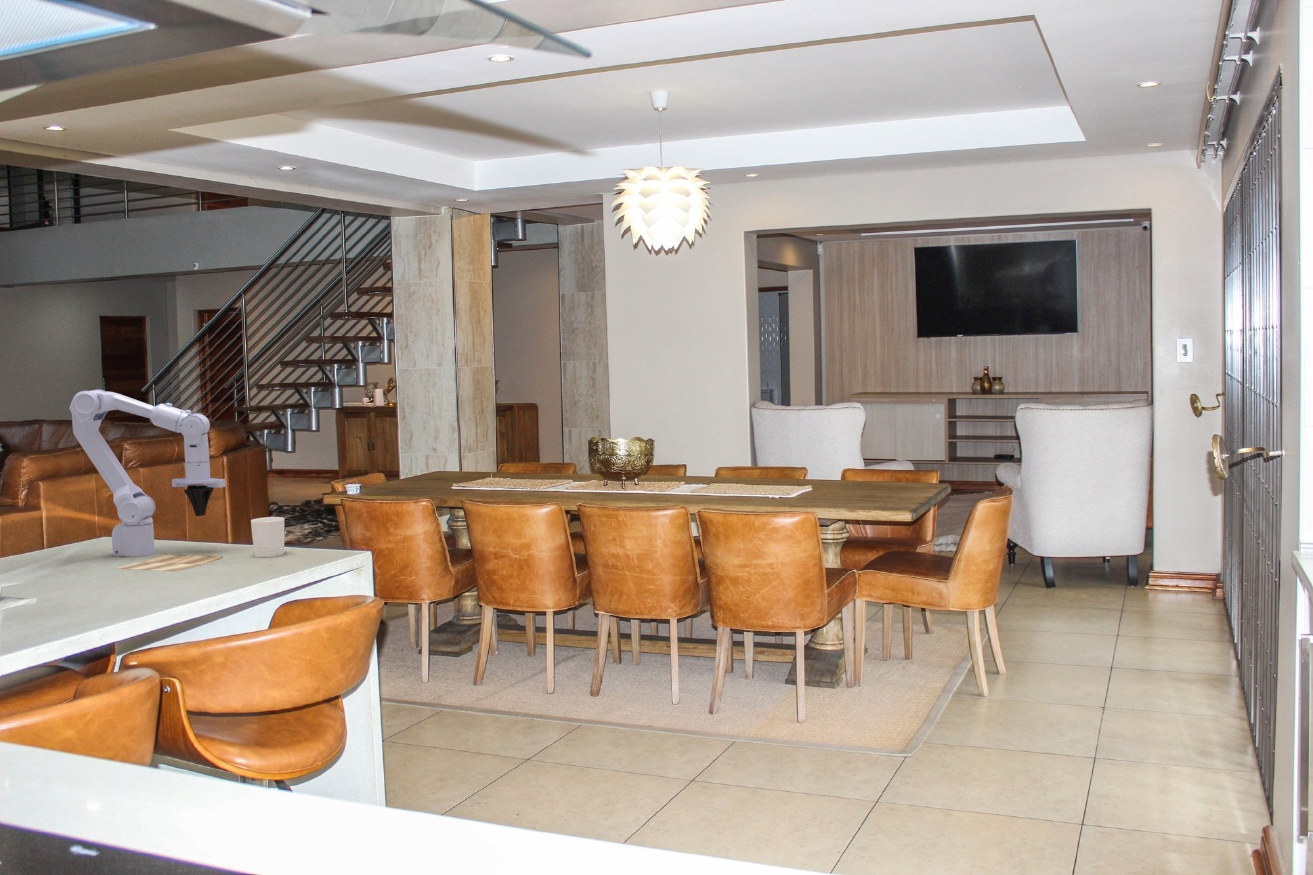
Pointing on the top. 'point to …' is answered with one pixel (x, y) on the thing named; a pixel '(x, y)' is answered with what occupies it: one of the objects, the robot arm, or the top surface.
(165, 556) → the plank
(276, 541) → the white cup
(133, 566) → the floor board
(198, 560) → the plank
